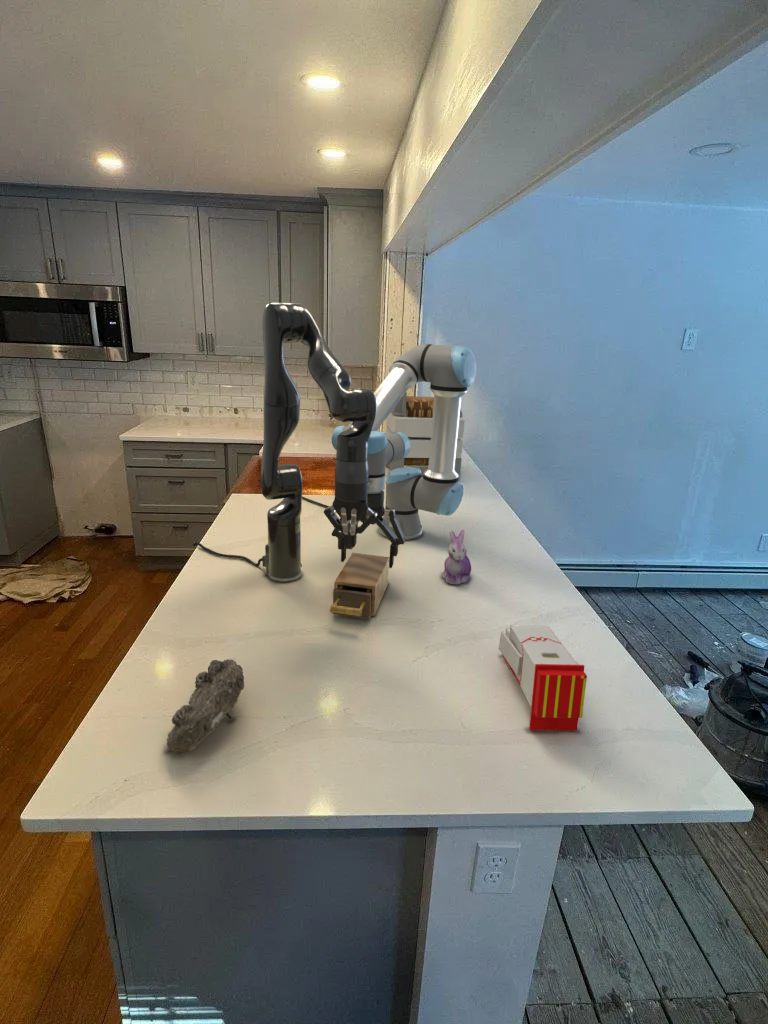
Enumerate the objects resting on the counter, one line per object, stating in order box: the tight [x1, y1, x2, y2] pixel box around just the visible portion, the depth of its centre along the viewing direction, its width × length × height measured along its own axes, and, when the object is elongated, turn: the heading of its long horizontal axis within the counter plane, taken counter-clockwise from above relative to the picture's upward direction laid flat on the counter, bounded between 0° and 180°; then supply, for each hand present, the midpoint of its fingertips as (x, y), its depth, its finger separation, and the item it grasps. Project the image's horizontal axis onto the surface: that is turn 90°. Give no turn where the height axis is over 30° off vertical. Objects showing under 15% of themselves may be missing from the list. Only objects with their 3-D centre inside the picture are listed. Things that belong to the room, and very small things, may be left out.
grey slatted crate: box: [385, 391, 465, 483], centre depth 268 cm, size 34×33×41 cm
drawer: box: [329, 585, 372, 620], centre depth 148 cm, size 24×10×7 cm, turn 169°
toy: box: [498, 624, 588, 732], centre depth 119 cm, size 12×13×30 cm
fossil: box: [166, 658, 245, 754], centre depth 106 cm, size 22×10×15 cm
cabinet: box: [334, 552, 390, 617], centre depth 154 cm, size 19×11×9 cm, turn 169°
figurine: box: [442, 529, 472, 585], centre depth 166 cm, size 9×10×15 cm
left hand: (349, 547), depth 134 cm, fingers closed
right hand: (367, 563), depth 158 cm, fingers open, 13 cm apart
